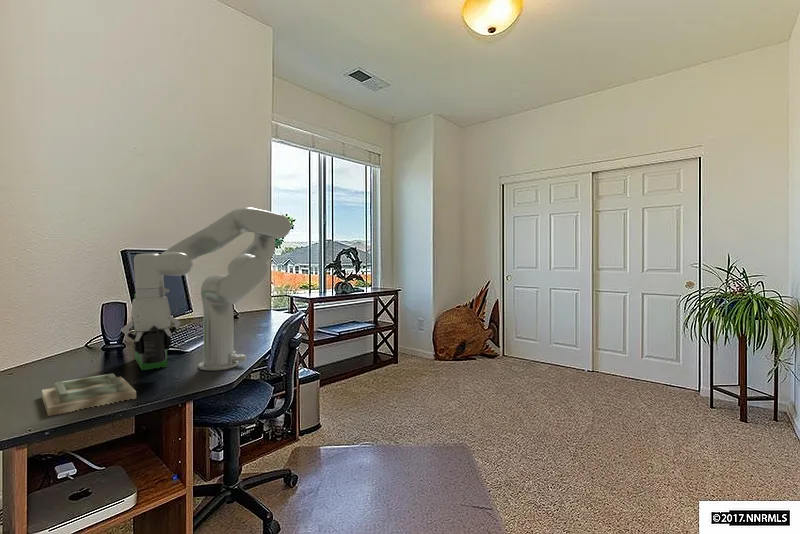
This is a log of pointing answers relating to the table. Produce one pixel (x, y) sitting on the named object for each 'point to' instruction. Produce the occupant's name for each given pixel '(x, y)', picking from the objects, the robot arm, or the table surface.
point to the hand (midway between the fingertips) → (153, 350)
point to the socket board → (86, 393)
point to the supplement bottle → (153, 346)
